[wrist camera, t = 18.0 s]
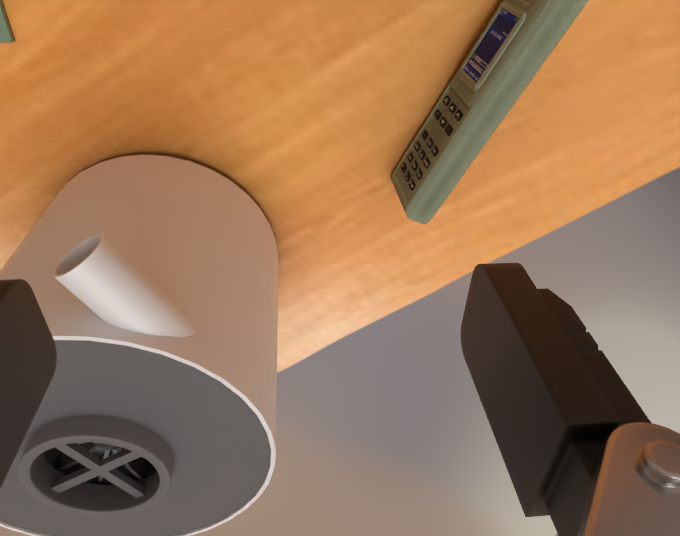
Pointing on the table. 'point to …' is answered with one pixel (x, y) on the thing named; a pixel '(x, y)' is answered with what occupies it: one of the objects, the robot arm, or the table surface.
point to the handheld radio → (479, 99)
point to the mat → (5, 26)
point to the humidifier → (149, 354)
